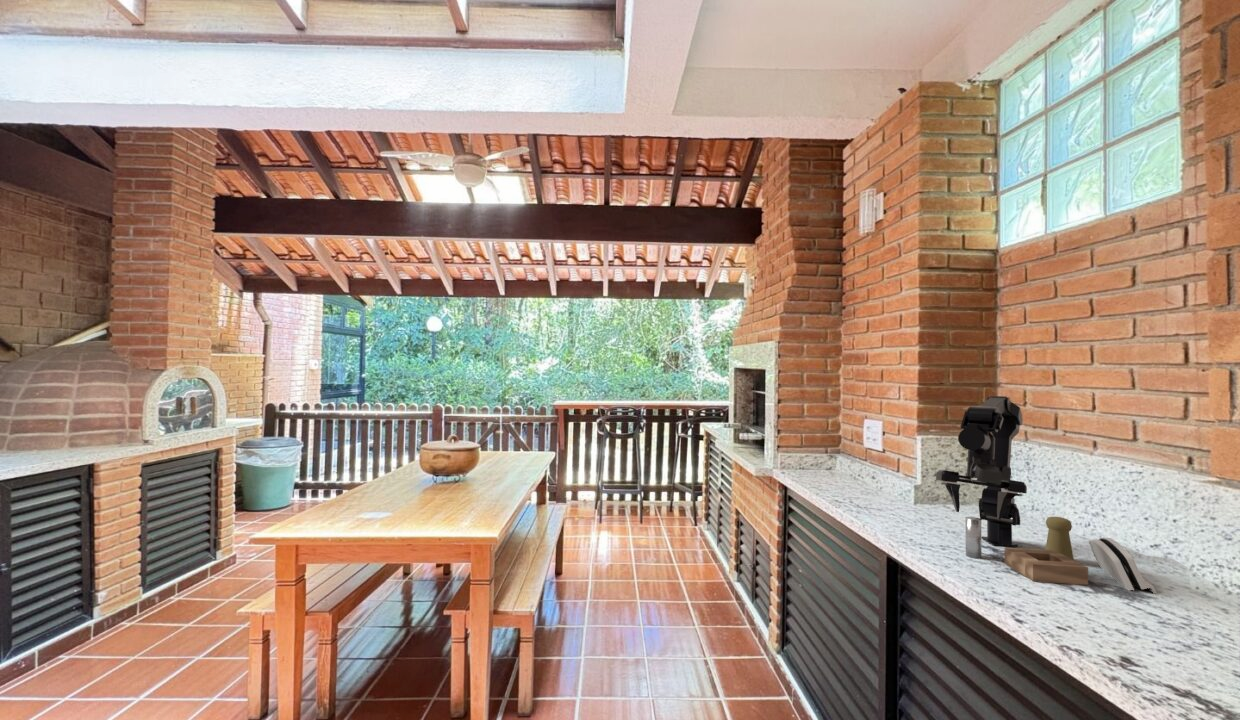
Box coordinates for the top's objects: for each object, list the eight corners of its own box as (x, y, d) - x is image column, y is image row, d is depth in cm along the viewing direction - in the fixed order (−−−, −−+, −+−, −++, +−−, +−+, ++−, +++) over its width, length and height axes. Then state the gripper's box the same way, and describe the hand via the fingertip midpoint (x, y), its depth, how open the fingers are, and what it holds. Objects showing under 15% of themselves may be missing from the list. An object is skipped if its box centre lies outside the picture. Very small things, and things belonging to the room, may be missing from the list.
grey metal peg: (963, 553, 140) (962, 516, 140) (977, 554, 140) (977, 517, 140) (969, 558, 137) (969, 520, 137) (984, 559, 136) (984, 520, 136)
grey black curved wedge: (1157, 594, 115) (1136, 549, 117) (1131, 598, 117) (1110, 553, 118) (1124, 568, 130) (1106, 529, 132) (1101, 572, 132) (1083, 533, 134)
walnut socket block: (1004, 563, 133) (1004, 547, 133) (1054, 566, 131) (1054, 550, 131) (1033, 581, 122) (1032, 564, 122) (1088, 584, 120) (1087, 567, 120)
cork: (1047, 561, 135) (1047, 518, 135) (1041, 554, 140) (1041, 513, 140) (1077, 565, 132) (1077, 522, 132) (1070, 558, 137) (1070, 516, 137)
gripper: (949, 447, 131) (945, 510, 129) (1037, 459, 125) (1035, 525, 123) (937, 449, 142) (933, 507, 139) (1018, 460, 136) (1015, 521, 133)
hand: (978, 515), depth 133 cm, fingers open, 9 cm apart
